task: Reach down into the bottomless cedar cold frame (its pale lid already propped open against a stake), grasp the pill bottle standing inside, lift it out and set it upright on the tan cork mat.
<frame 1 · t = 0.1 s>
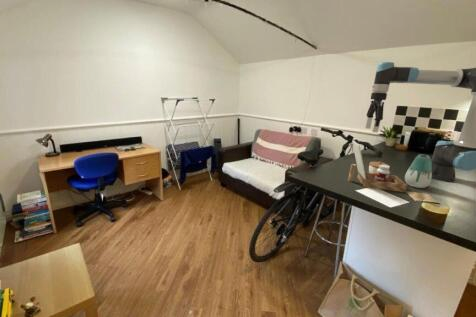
hand: (370, 130, 133), 28 cm above the countertop, fingers open, 13 cm apart
cork mat: (421, 197, 113), on the countertop
lidded jar: (376, 176, 140), on the countertop
vase: (415, 186, 128), on the countertop
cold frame: (379, 184, 127), on the countertop
pill bottle: (379, 184, 127), resting in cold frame
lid: (358, 159, 126), point 13 cm above the countertop, hinge at 110.0°
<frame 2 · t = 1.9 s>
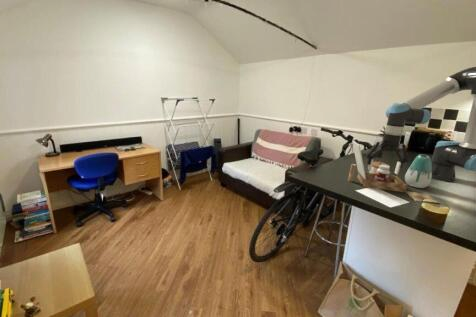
hand: (382, 171, 125), 8 cm above the countertop, fingers open, 13 cm apart
nothing on the countertop moved.
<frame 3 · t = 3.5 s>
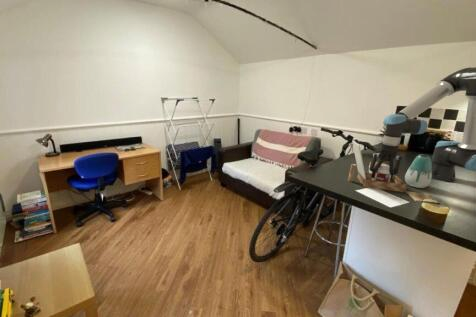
hand: (379, 184, 127), 0 cm above the countertop, fingers closed on pill bottle, 6 cm apart
pill bottle: (379, 184, 127), resting in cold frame, touching gripper
everything else where it was.
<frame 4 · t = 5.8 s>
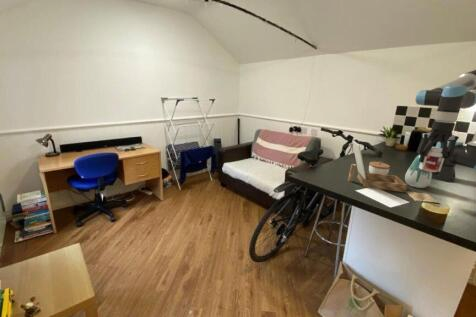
hand: (429, 169, 109), 15 cm above the countertop, fingers closed on pill bottle, 6 cm apart
pill bottle: (428, 170, 109), point 14 cm above the countertop, touching gripper
everything else where it was.
when the fingers open (2 cm above the countertop, at t = 8.1 s): pill bottle drops 1 cm, resting on cork mat.
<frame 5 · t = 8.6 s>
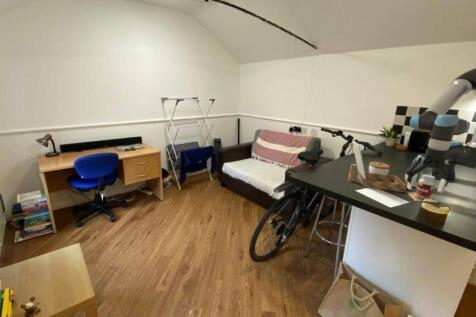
hand: (424, 190, 112), 4 cm above the countertop, fingers open, 13 cm apart
pill bottle: (421, 197, 113), resting on cork mat
everything else where it was.
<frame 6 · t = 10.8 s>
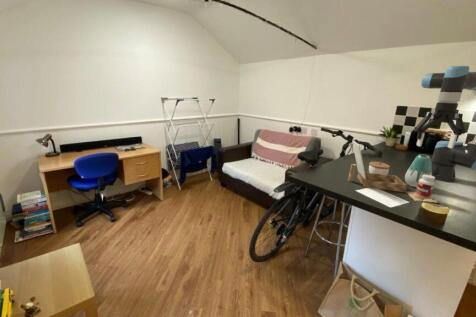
hand: (434, 146, 111), 25 cm above the countertop, fingers open, 13 cm apart
nothing on the countertop moved.
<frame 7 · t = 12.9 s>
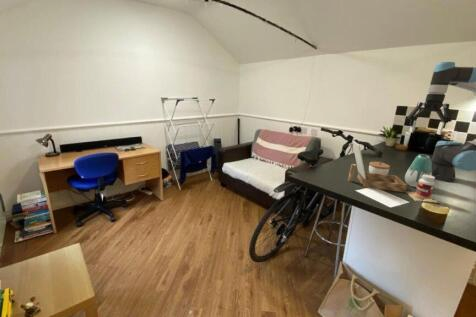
hand: (424, 133, 127), 29 cm above the countertop, fingers open, 13 cm apart
nothing on the countertop moved.
at the end: pill bottle inside the target area (0.1 cm from its centre), resting on cork mat; pill bottle tilted 0°; the gripper is holding nothing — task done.
